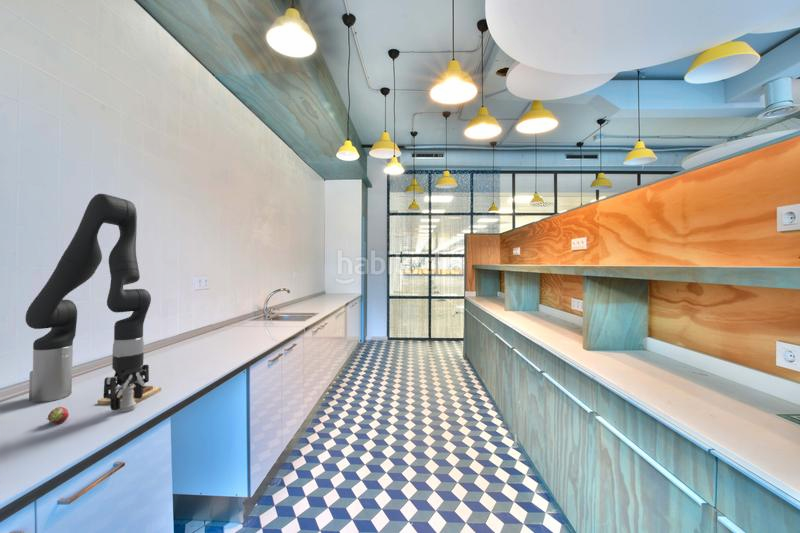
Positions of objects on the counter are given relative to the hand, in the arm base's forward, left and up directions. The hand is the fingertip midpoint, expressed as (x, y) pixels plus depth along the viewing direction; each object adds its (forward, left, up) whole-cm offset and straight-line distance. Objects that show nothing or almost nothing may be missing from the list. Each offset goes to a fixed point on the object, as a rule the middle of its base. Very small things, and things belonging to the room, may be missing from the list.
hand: (127, 403), depth 101 cm
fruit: (-13, -8, -2) cm, 15 cm away
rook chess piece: (0, 0, -2) cm, 2 cm away
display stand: (-7, +10, -2) cm, 12 cm away
